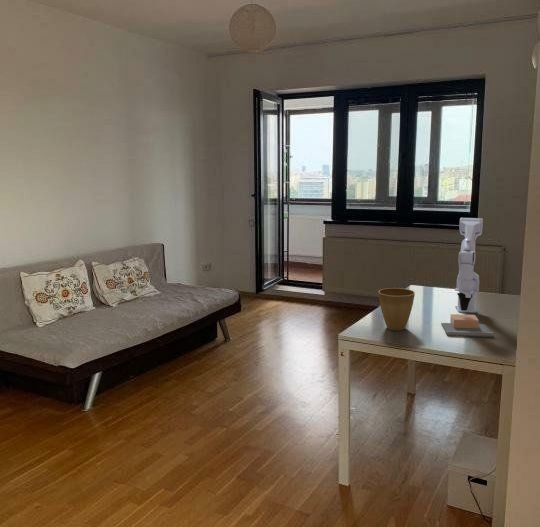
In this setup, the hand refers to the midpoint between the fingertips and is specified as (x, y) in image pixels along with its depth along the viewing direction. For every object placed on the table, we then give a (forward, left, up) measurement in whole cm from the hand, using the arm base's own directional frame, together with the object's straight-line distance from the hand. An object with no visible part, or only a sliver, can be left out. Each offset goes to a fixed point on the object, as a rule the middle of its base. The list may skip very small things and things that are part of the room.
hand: (463, 310), depth 231 cm
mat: (+7, 0, -7) cm, 10 cm away
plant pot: (+7, -29, -7) cm, 31 cm away
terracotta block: (-2, 0, -4) cm, 5 cm away
